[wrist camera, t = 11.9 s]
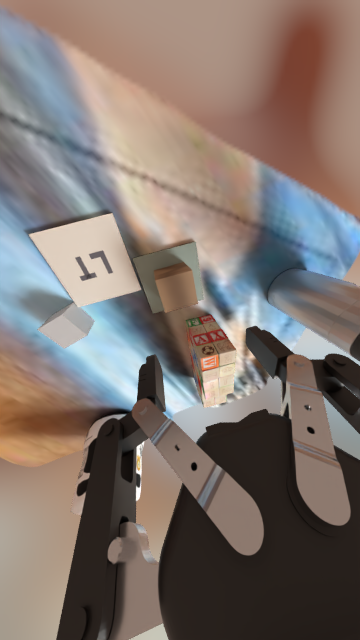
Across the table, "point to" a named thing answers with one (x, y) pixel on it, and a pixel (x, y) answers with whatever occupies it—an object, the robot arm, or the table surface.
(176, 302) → the walnut block
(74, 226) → the tile
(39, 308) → the table surface
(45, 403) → the table surface
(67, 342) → the grey block
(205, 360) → the stack of blocks
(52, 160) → the table surface
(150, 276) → the grey-green mat
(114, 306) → the table surface
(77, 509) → the milk container
